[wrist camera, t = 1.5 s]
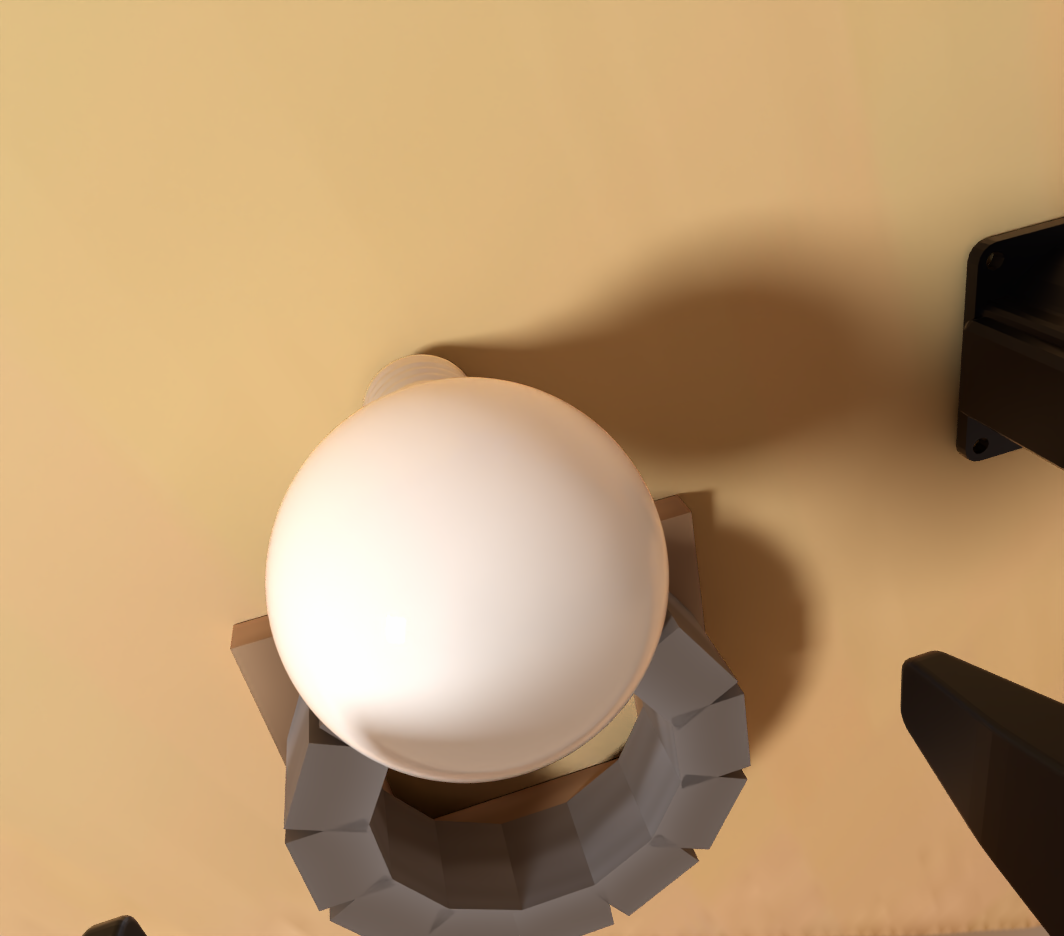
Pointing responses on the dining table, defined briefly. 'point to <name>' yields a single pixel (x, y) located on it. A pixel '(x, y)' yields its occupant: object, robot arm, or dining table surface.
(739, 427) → the dining table surface
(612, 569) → the lightbulb
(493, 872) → the grey stone fire pit
